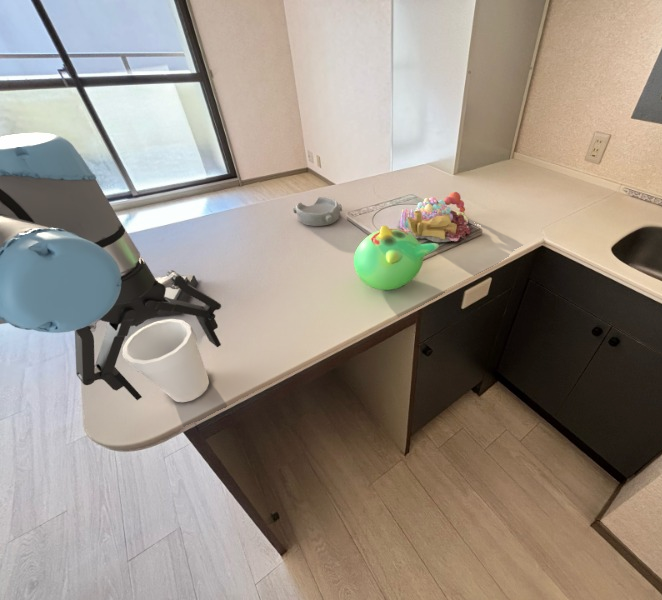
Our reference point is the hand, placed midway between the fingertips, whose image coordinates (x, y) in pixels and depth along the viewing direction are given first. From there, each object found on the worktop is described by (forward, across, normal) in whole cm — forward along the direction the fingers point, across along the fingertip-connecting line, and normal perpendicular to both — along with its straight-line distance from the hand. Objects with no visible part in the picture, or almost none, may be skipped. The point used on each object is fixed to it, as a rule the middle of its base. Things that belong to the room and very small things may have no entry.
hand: (178, 366), depth 56 cm
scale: (+6, -8, -29) cm, 31 cm away
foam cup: (+6, 0, 0) cm, 6 cm away
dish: (+7, -61, -30) cm, 69 cm away
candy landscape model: (+7, -82, +3) cm, 82 cm away
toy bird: (+7, -48, +10) cm, 49 cm away
